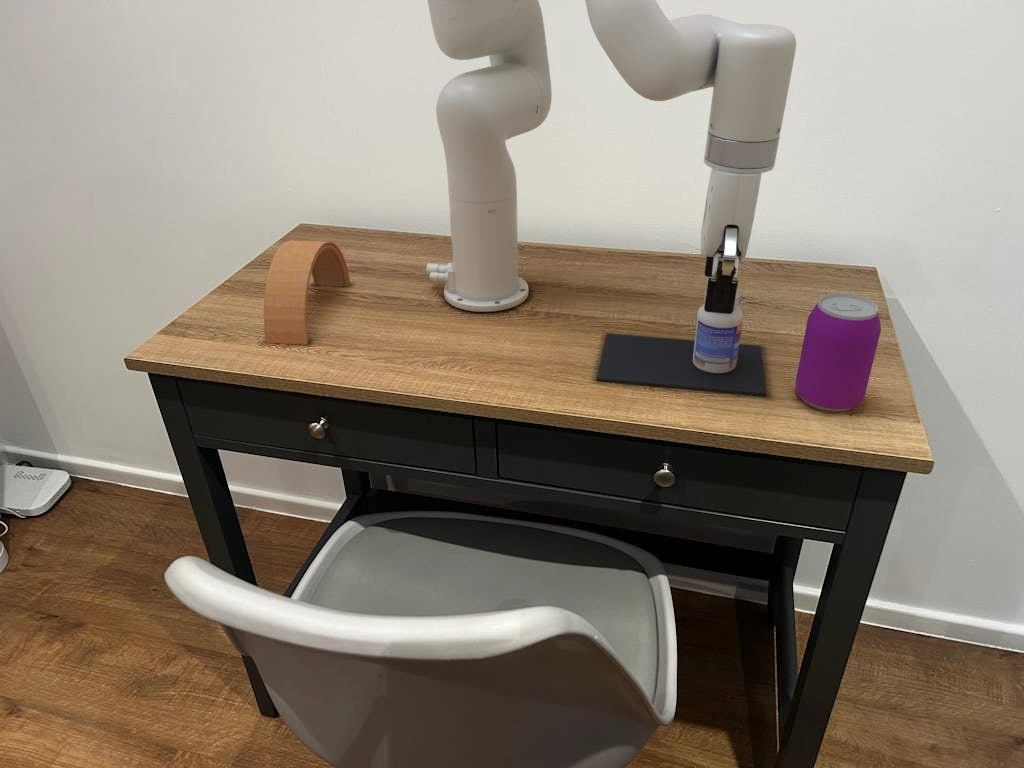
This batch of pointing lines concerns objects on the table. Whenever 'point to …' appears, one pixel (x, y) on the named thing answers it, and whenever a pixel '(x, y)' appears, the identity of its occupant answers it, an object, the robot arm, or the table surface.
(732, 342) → the pill bottle
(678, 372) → the desk mat
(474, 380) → the table surface
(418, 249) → the table surface
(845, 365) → the beverage can
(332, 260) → the arch
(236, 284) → the table surface
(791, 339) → the table surface
